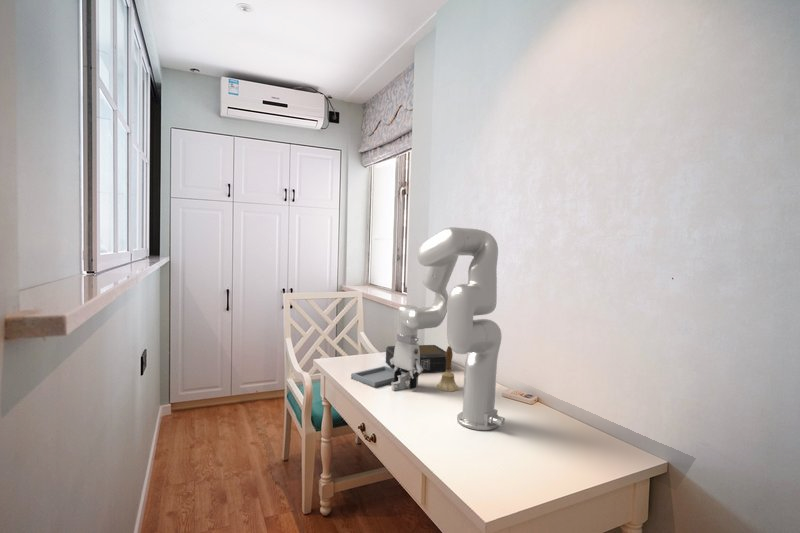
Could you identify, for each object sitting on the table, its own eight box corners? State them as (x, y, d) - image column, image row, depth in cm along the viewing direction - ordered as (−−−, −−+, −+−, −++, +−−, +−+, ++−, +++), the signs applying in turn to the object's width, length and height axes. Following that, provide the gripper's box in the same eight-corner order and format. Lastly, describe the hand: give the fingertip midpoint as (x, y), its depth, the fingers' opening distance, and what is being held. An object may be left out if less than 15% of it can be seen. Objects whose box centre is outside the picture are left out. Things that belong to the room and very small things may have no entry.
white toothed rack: (393, 391, 152) (393, 375, 152) (390, 390, 154) (391, 374, 154) (418, 386, 160) (419, 370, 159) (415, 384, 161) (416, 369, 161)
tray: (408, 378, 168) (408, 373, 168) (374, 387, 155) (374, 382, 155) (384, 370, 178) (384, 365, 178) (351, 378, 165) (351, 373, 165)
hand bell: (462, 390, 157) (464, 348, 156) (442, 392, 153) (444, 349, 153) (451, 383, 164) (453, 343, 164) (432, 385, 161) (434, 344, 161)
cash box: (397, 375, 172) (398, 357, 172) (384, 362, 192) (385, 345, 192) (452, 372, 180) (453, 355, 180) (435, 360, 199) (435, 344, 199)
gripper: (431, 341, 152) (429, 389, 153) (397, 333, 165) (395, 377, 165) (417, 344, 147) (415, 393, 148) (383, 335, 159) (381, 381, 160)
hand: (405, 385), depth 157 cm, fingers open, 7 cm apart
